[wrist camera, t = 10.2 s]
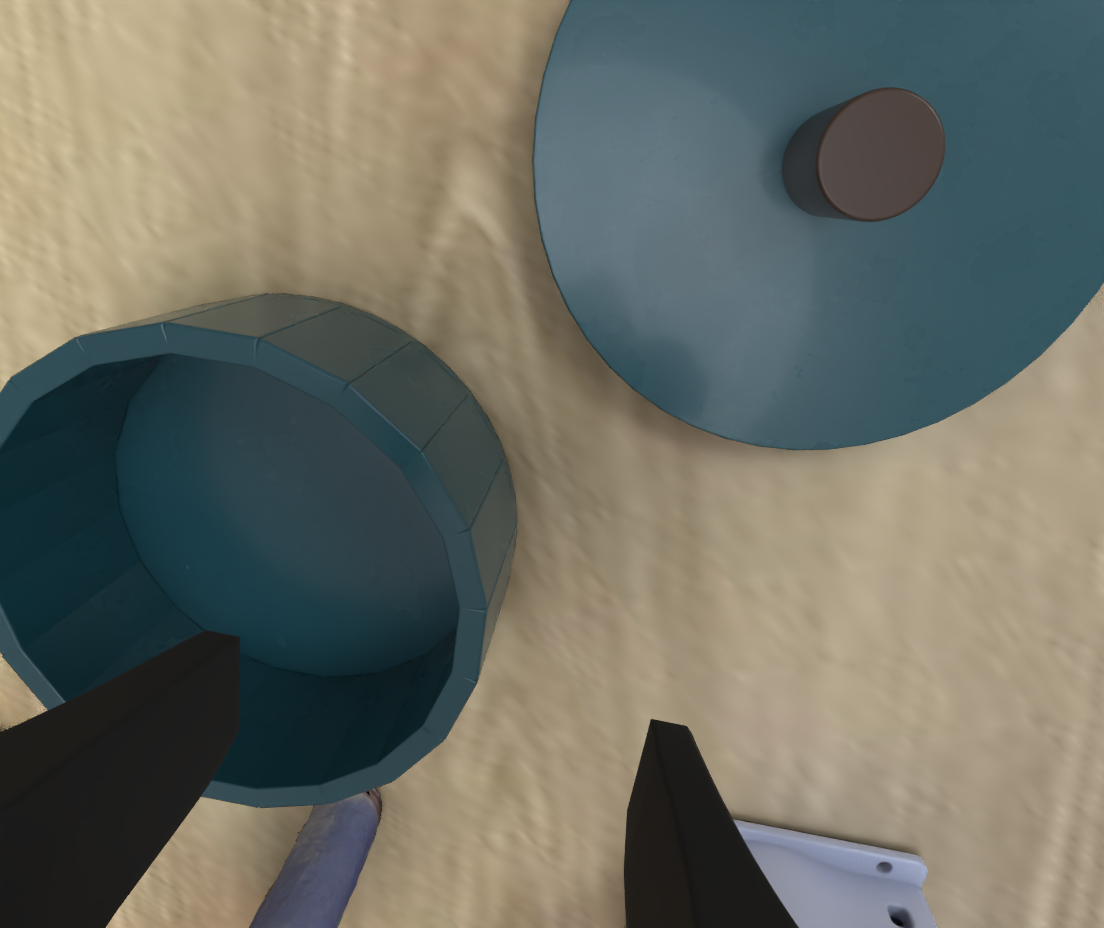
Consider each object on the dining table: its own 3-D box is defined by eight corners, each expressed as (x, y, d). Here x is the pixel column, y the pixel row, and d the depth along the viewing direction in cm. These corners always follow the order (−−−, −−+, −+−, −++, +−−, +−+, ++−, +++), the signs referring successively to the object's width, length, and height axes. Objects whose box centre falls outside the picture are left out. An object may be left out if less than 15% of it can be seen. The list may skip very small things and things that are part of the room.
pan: (545, 335, 20) (517, 382, 15) (491, 714, 25) (455, 847, 20) (90, 258, 21) (-87, 279, 16) (122, 644, 26) (-6, 757, 20)
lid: (1259, -148, 15) (1501, -280, 11) (1006, 477, 20) (1103, 550, 16) (585, -237, 16) (570, -394, 12) (505, 392, 21) (474, 442, 17)
